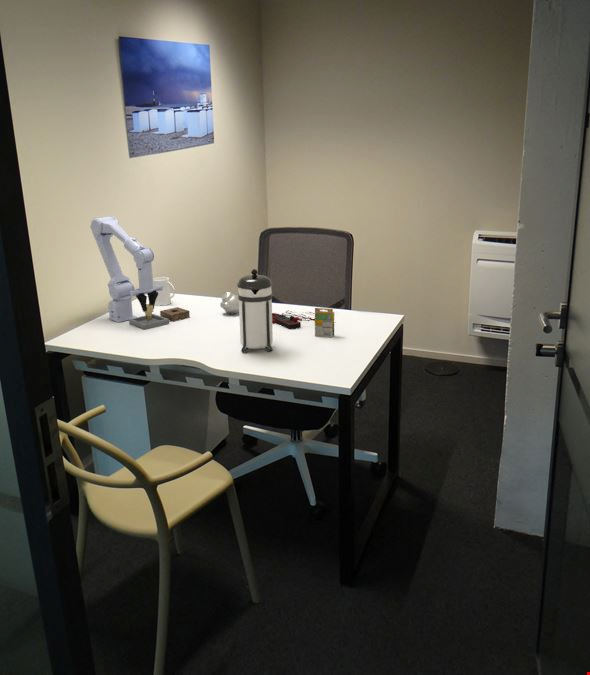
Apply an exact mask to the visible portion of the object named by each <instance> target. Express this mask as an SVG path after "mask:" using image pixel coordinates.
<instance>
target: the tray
mask: <svg viewBox="0 0 590 675" xmlns="http://www.w3.org/2000/svg"><path fill="white" fill-rule="evenodd" d="M136 317H137V316H136ZM128 323H129V325H132V326H134V327H137V328H139V329H142V330H148V329H153V328H157V327H158V328H159V327H161V326H166V325H170V321H169V319H167V318H164V317H161V316H160V314H156V313H152V320H150V321H147V320H146V317H145V315H141V316H138V317H137V318H133V319H129V320H128ZM165 324H166V325H165Z"/></svg>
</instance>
